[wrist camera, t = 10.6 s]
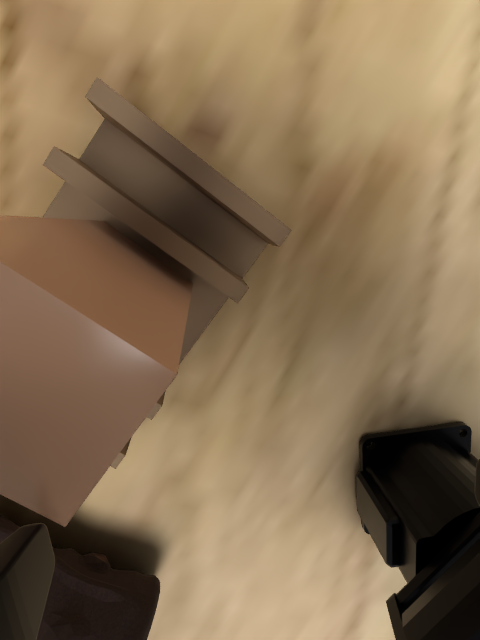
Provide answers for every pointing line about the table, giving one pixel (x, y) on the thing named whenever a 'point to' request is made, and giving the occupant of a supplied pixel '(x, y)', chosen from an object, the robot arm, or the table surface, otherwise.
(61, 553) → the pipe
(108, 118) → the rack
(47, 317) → the clay block
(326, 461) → the table surface
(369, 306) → the table surface
